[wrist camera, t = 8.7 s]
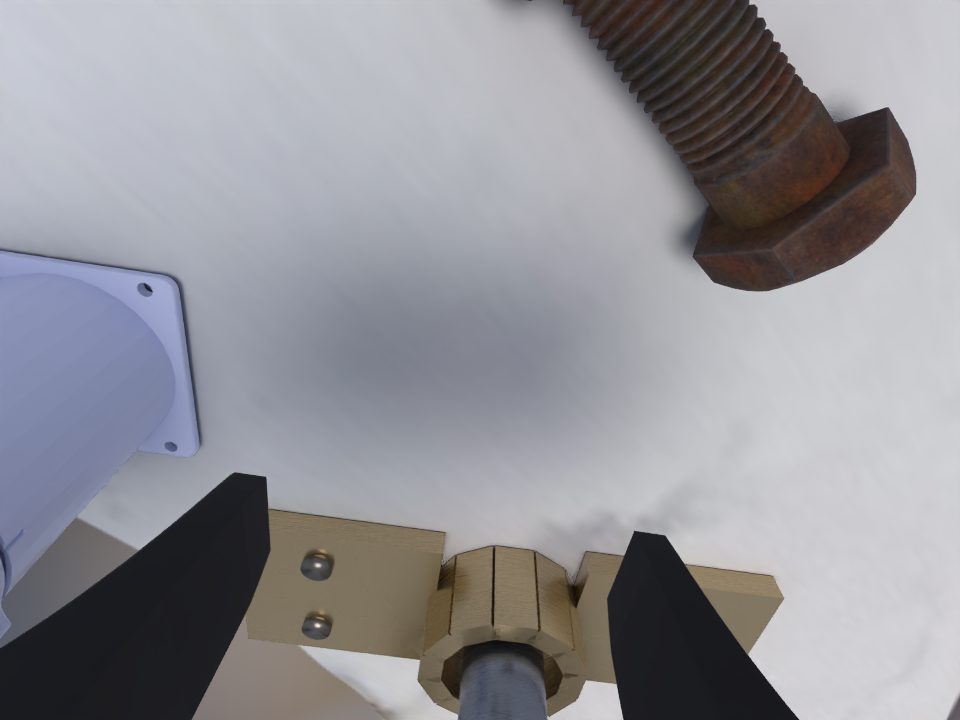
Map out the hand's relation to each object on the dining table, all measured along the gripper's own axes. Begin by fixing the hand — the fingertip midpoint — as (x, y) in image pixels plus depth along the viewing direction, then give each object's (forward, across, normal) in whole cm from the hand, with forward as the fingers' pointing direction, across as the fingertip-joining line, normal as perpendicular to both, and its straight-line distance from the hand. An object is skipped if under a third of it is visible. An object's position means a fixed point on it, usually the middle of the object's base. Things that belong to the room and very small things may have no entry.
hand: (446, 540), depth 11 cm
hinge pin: (+10, -4, +15) cm, 18 cm away
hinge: (+10, -4, +15) cm, 19 cm away
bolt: (+11, -3, -10) cm, 15 cm away
